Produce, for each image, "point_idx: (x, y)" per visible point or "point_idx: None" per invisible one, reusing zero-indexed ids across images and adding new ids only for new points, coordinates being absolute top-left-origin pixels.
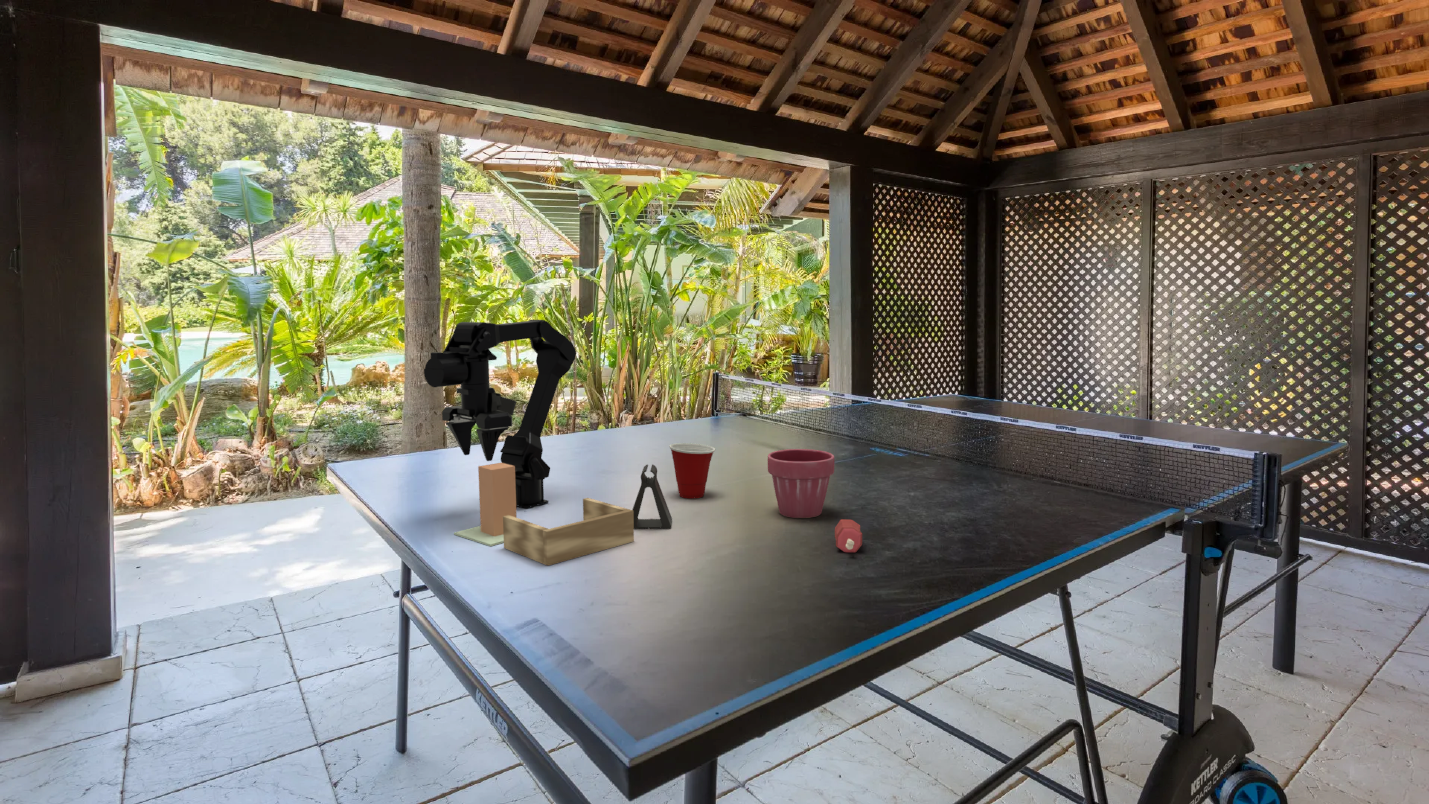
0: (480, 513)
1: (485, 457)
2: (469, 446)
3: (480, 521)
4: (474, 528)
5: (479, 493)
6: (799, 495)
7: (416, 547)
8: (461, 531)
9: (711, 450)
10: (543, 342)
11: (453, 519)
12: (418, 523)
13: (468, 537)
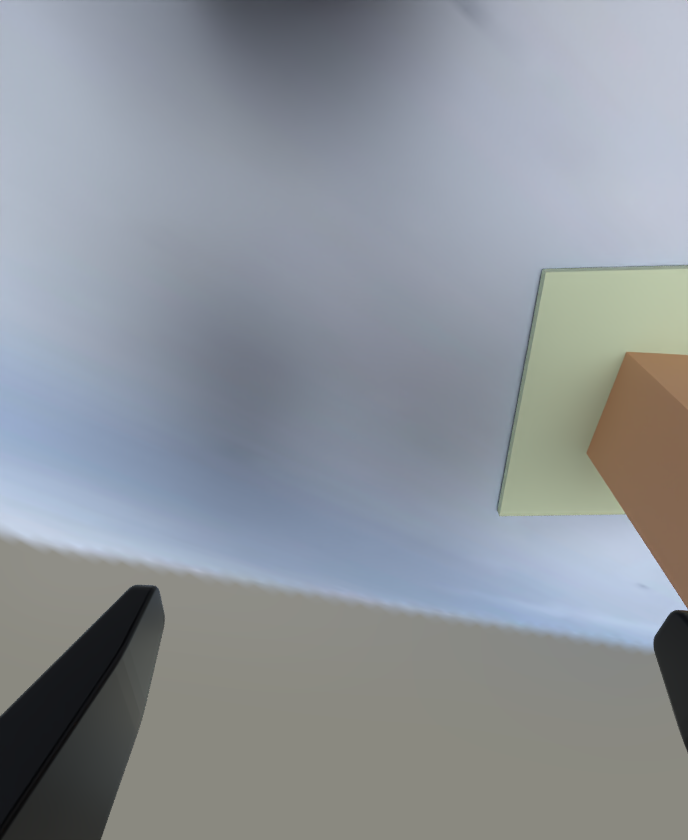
0: (625, 509)
1: (676, 694)
2: (117, 682)
3: (606, 482)
4: (528, 448)
5: (682, 596)
6: None
7: (504, 619)
8: (513, 495)
9: None
10: None
11: (288, 409)
12: (241, 514)
13: (600, 514)
